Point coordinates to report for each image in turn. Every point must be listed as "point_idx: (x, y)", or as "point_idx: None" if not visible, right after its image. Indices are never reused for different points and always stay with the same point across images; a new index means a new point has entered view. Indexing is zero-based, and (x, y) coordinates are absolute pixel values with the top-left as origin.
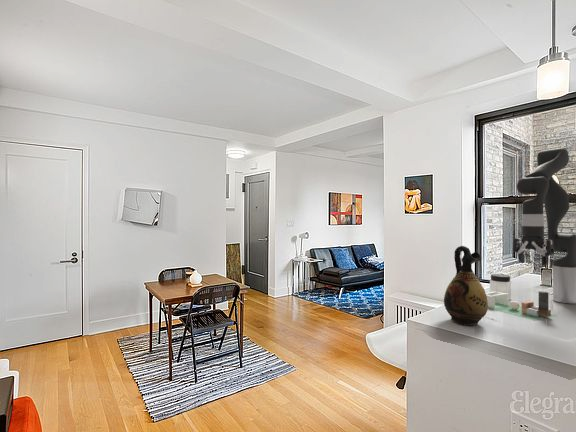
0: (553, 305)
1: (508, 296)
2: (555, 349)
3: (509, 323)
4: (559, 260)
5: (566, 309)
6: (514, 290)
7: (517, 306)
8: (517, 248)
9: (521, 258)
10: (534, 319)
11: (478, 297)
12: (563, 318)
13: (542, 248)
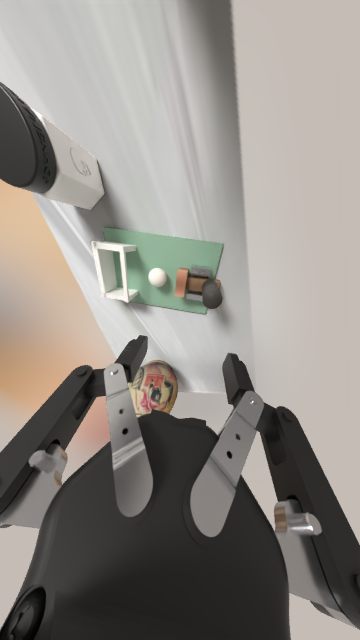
0: (185, 83)
1: (127, 248)
2: None
3: (188, 342)
4: None
5: (225, 113)
6: None
7: (165, 281)
8: (72, 387)
9: (140, 364)
10: (203, 308)
11: (172, 407)
12: (233, 248)
13: (234, 438)
